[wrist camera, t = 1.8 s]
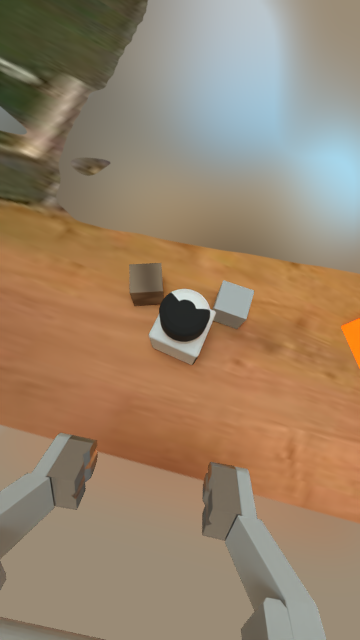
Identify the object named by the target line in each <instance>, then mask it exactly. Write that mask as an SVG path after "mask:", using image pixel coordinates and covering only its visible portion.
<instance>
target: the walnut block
mask: <svg viewBox="0 0 360 640" xmlns="http://www.w3.org/2000/svg"><path fill="white" fill-rule="evenodd" d="M129 270H130V295H131V298H132V300H133V303H134V306H142V305H158V304H161V302H162V301H163V299H164V298H163V283H162V268H161V263H151V264H130V265H129Z"/></svg>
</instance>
